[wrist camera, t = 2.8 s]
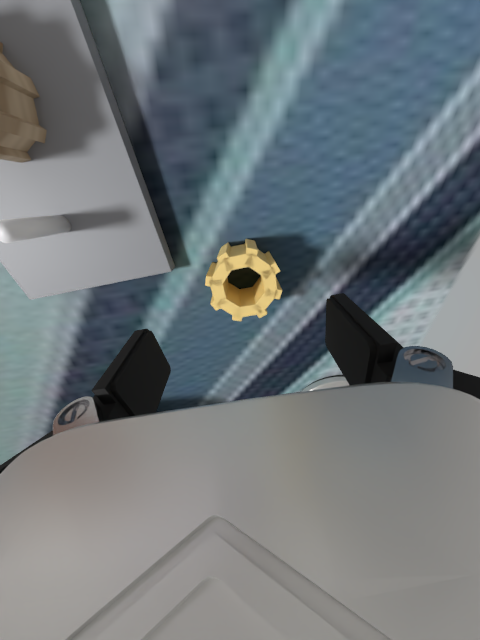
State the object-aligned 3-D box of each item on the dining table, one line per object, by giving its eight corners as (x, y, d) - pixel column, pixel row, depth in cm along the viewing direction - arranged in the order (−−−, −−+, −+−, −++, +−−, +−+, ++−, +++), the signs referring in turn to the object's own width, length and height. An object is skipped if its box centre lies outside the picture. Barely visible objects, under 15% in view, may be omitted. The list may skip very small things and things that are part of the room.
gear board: (55, -67, 12) (-129, -336, 6) (175, 267, 22) (151, 292, 16) (-163, 17, 13) (-490, -132, 7) (41, 294, 23) (-27, 326, 17)
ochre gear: (270, 233, 20) (277, 241, 16) (277, 295, 24) (284, 313, 20) (204, 247, 21) (196, 258, 17) (220, 305, 24) (216, 325, 20)
